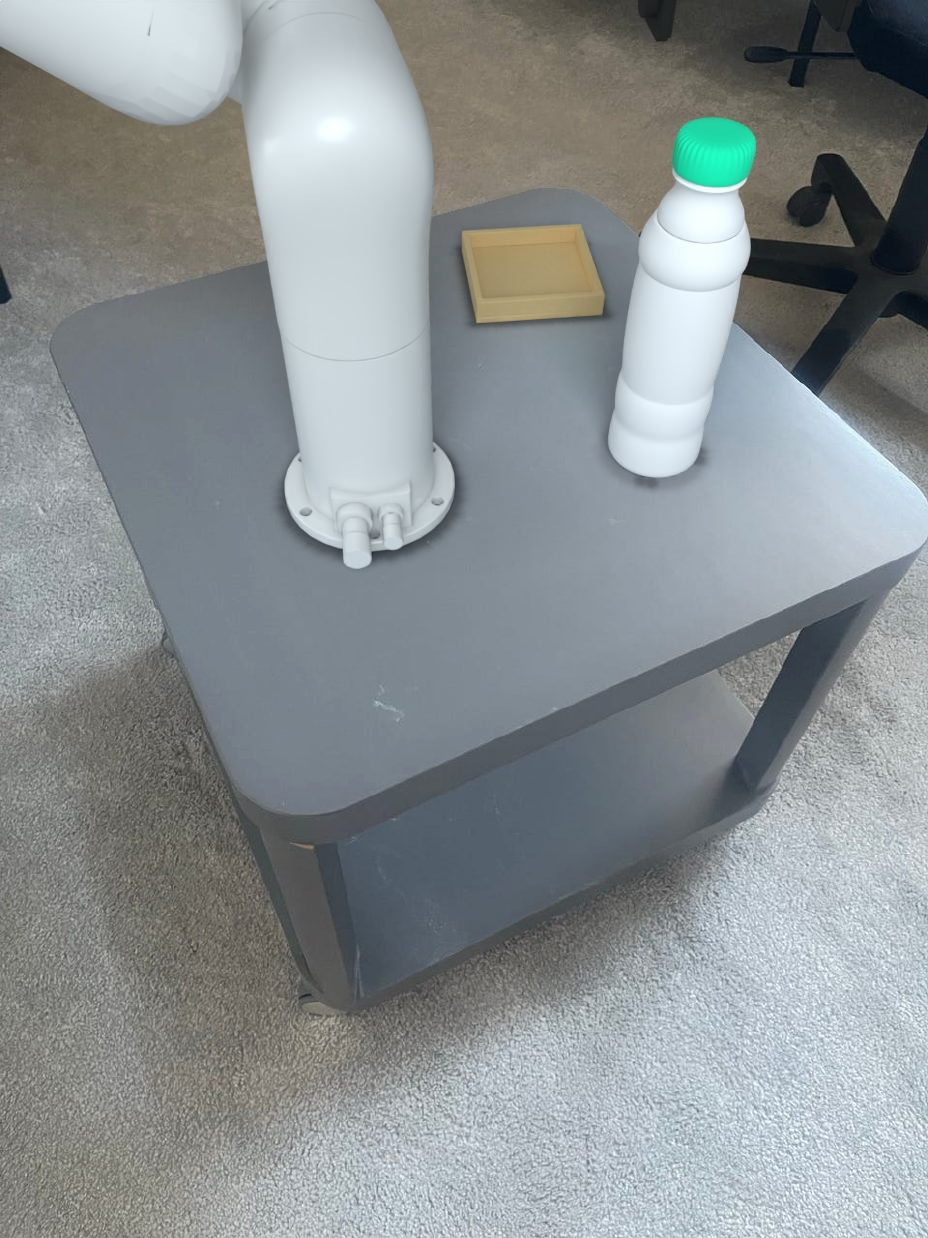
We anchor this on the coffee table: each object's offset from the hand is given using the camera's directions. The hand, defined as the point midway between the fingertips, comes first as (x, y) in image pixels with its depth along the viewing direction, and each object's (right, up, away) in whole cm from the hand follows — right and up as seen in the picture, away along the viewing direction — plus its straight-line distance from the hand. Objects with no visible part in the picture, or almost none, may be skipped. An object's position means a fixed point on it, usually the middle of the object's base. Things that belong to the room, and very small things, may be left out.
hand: (744, 25), depth 54 cm
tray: (-9, -1, +38) cm, 39 cm away
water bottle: (0, -19, +24) cm, 31 cm away
